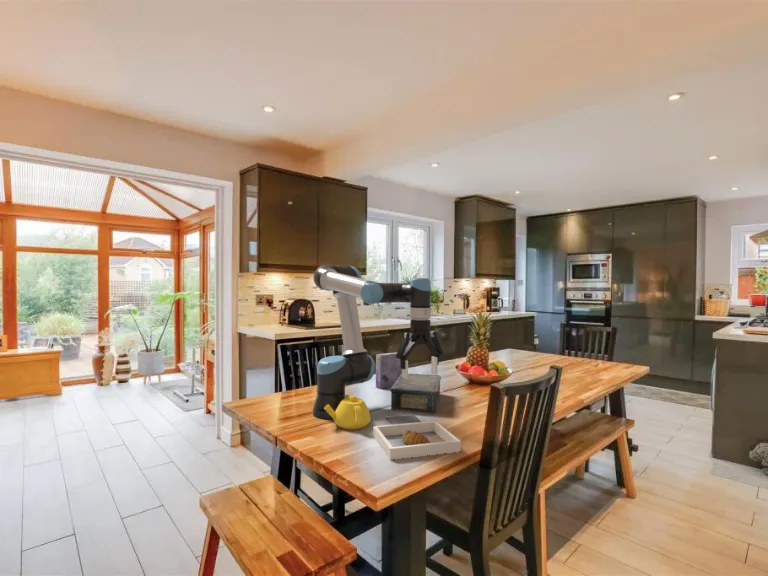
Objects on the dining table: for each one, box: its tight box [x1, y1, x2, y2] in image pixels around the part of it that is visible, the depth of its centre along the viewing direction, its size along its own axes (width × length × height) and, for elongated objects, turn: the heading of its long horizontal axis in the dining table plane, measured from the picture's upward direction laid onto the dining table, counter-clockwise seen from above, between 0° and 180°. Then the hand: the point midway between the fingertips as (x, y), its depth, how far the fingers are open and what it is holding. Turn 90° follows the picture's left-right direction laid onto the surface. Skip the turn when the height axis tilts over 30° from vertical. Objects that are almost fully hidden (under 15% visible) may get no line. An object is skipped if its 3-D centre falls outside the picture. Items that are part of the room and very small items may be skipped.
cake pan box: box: [375, 351, 402, 389], centre depth 216 cm, size 19×5×18 cm, turn 130°
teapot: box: [324, 394, 371, 430], centre depth 155 cm, size 20×18×11 cm
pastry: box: [401, 430, 431, 445], centre depth 138 cm, size 9×7×4 cm
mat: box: [386, 414, 423, 425], centre depth 159 cm, size 12×12×1 cm
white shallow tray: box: [372, 420, 462, 461], centre depth 138 cm, size 24×20×4 cm
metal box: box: [390, 373, 442, 414], centre depth 188 cm, size 21×32×10 cm, turn 169°
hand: (419, 375), depth 149 cm, fingers open, 13 cm apart
